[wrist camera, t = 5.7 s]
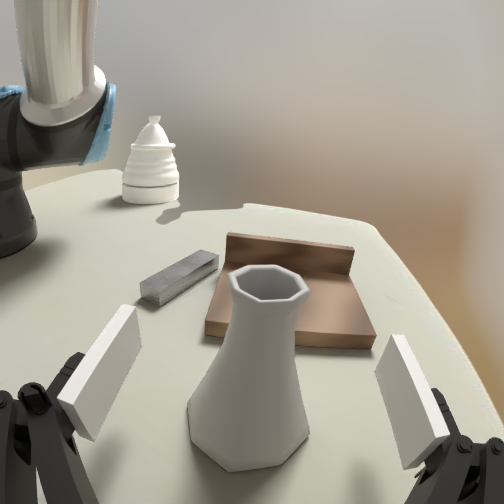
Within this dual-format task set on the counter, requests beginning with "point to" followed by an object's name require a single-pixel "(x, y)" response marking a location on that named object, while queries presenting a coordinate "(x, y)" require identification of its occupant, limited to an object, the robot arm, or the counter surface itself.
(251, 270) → the flask
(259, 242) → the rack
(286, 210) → the counter surface
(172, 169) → the honey pot
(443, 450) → the robot arm
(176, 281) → the grey rectangular bar
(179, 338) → the counter surface
